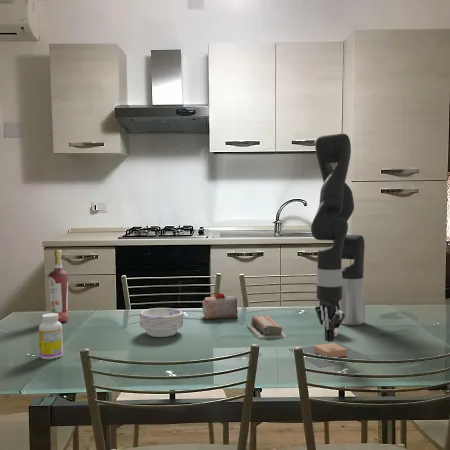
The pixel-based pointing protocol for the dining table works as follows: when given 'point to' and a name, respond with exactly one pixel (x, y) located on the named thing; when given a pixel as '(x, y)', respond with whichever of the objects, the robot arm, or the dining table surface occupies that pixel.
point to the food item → (220, 307)
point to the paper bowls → (161, 321)
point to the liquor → (59, 289)
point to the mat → (324, 363)
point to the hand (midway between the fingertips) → (329, 340)
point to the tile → (330, 350)
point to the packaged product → (265, 328)
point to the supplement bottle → (50, 337)
